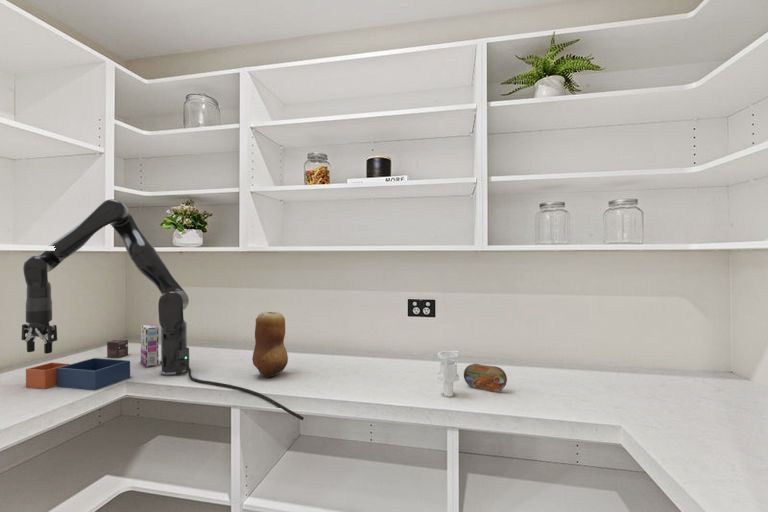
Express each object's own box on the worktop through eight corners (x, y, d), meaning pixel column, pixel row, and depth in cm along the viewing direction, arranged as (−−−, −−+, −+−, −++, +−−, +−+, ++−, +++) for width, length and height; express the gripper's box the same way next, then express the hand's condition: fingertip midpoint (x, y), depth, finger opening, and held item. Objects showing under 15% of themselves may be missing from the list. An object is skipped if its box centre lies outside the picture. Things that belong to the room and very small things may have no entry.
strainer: (456, 399, 131) (456, 353, 131) (435, 396, 134) (435, 351, 134) (461, 392, 138) (460, 349, 137) (441, 390, 140) (440, 347, 140)
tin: (463, 386, 144) (463, 362, 144) (466, 383, 147) (466, 360, 147) (505, 394, 136) (505, 369, 136) (508, 391, 139) (508, 367, 139)
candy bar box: (159, 365, 173) (158, 327, 173) (146, 367, 170) (145, 328, 169) (153, 360, 181) (152, 323, 181) (140, 362, 178) (140, 325, 178)
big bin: (130, 377, 156) (130, 360, 156) (95, 390, 142) (94, 371, 142) (94, 374, 161) (94, 357, 160) (56, 386, 146) (56, 368, 146)
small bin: (70, 381, 152) (69, 363, 152) (44, 388, 144) (44, 370, 144) (51, 379, 155) (51, 362, 154) (25, 386, 146) (25, 369, 146)
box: (117, 358, 185) (117, 342, 185) (106, 357, 186) (106, 341, 186) (128, 355, 191) (128, 339, 191) (117, 354, 192) (117, 339, 192)
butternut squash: (294, 375, 158) (294, 311, 158) (263, 383, 148) (262, 315, 148) (275, 368, 167) (275, 308, 167) (245, 375, 158) (244, 312, 158)
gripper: (64, 308, 152) (64, 351, 152) (35, 307, 155) (35, 349, 155) (42, 311, 145) (43, 356, 145) (13, 309, 148) (13, 353, 148)
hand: (39, 352), depth 150 cm, fingers open, 8 cm apart
